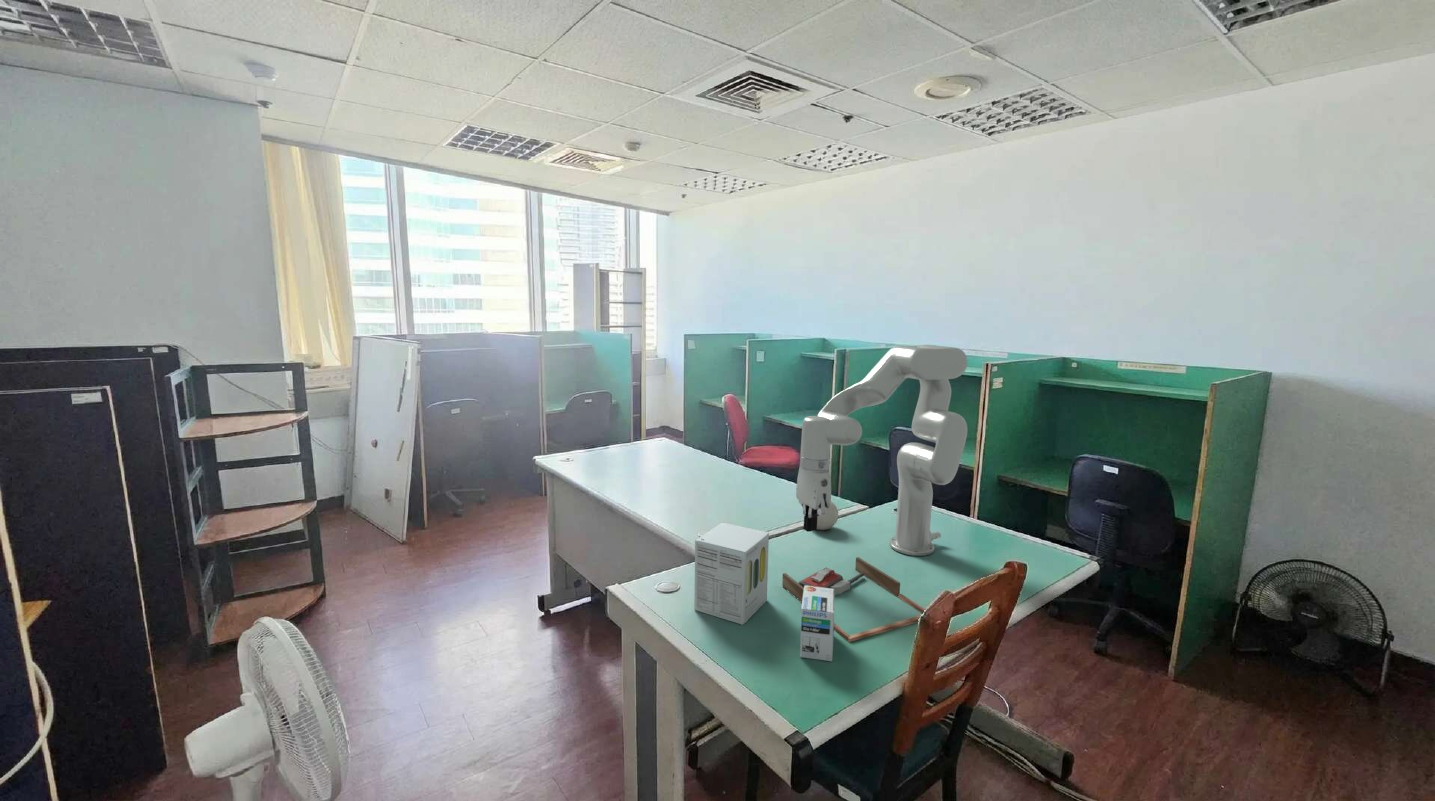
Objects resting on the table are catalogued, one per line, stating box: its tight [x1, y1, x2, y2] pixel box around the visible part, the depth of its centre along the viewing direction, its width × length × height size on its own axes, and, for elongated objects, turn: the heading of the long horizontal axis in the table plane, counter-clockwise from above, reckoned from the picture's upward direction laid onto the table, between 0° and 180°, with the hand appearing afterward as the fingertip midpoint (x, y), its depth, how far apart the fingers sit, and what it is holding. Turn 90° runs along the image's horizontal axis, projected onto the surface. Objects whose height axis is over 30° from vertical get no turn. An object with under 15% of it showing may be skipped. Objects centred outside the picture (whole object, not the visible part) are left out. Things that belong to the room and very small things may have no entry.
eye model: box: [814, 500, 839, 531], centre depth 185 cm, size 10×10×10 cm
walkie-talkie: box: [797, 567, 865, 595], centre depth 148 cm, size 9×4×20 cm
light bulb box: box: [799, 585, 835, 662], centre depth 122 cm, size 11×7×11 cm, turn 168°
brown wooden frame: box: [781, 556, 927, 643], centre depth 140 cm, size 24×27×4 cm
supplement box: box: [693, 522, 770, 626], centre depth 137 cm, size 13×13×18 cm
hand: (810, 529), depth 155 cm, fingers closed
